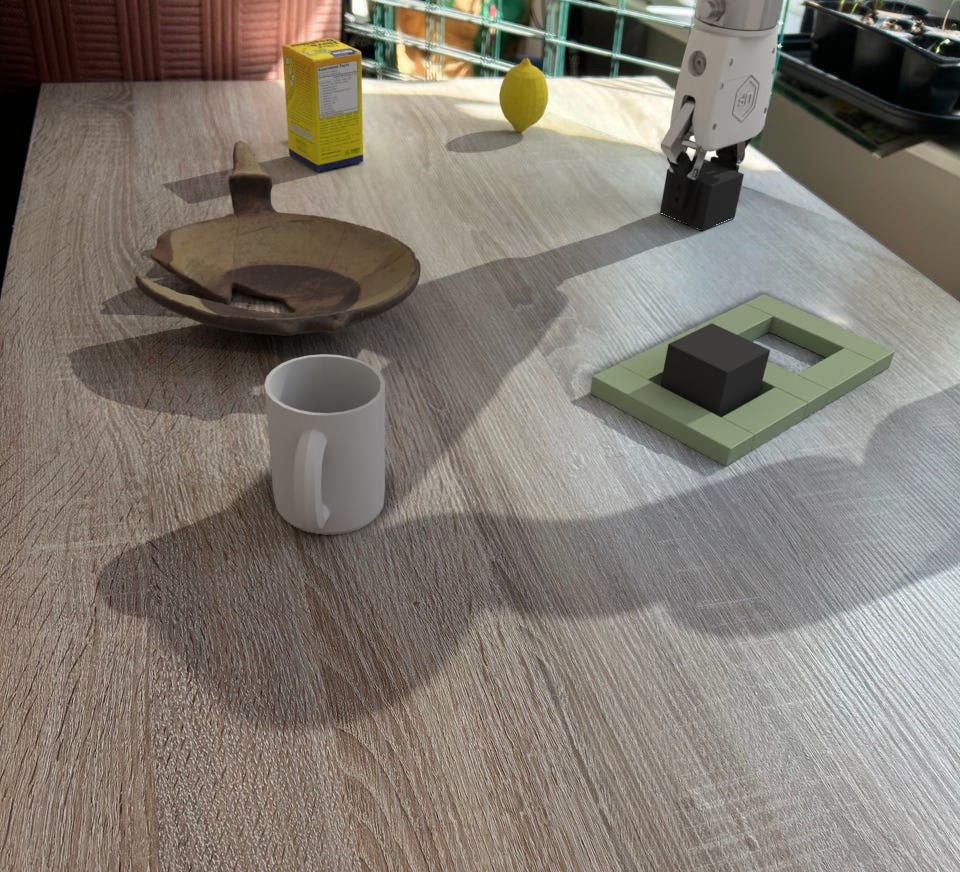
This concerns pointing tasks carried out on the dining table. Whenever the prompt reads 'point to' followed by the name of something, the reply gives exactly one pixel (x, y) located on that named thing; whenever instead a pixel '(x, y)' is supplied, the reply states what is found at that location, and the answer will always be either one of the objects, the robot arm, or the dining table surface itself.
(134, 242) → the dining table surface
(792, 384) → the base board
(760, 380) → the black block
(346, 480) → the cup
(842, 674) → the dining table surface
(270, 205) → the broken clay pan
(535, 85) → the fruit
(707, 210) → the black square block
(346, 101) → the supplement box
